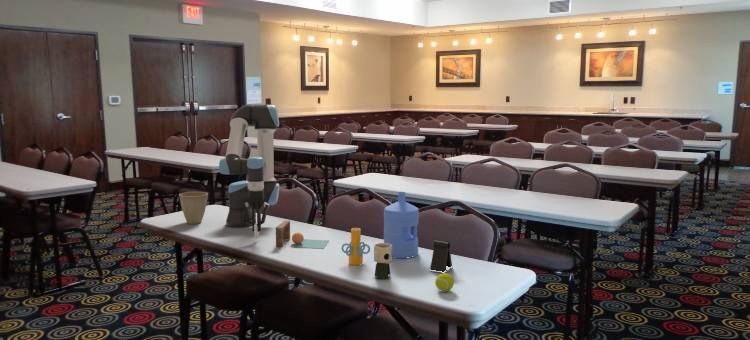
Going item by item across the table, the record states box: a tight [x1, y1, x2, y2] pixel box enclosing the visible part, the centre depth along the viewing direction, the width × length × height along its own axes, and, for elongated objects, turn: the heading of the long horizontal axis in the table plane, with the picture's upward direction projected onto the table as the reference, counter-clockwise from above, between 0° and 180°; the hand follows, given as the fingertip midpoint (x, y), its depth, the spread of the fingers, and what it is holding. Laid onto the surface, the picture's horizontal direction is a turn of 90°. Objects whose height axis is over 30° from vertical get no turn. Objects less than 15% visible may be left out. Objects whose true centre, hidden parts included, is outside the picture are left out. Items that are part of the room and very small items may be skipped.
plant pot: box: [178, 191, 209, 225], centre depth 306 cm, size 15×15×16 cm
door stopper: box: [429, 239, 453, 272], centre depth 230 cm, size 9×6×12 cm, turn 149°
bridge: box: [275, 220, 291, 248], centre depth 268 cm, size 3×14×9 cm, turn 174°
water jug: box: [383, 191, 420, 259], centre depth 250 cm, size 16×16×28 cm
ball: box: [291, 232, 304, 245], centre depth 266 cm, size 6×6×6 cm
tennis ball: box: [434, 272, 455, 292], centre depth 205 cm, size 7×7×7 cm
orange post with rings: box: [340, 227, 371, 266], centre depth 236 cm, size 12×10×15 cm
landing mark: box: [294, 238, 330, 250], centre depth 267 cm, size 14×14×1 cm
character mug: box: [373, 242, 393, 279], centre depth 219 cm, size 11×7×13 cm, turn 146°
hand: (256, 237), depth 269 cm, fingers closed
